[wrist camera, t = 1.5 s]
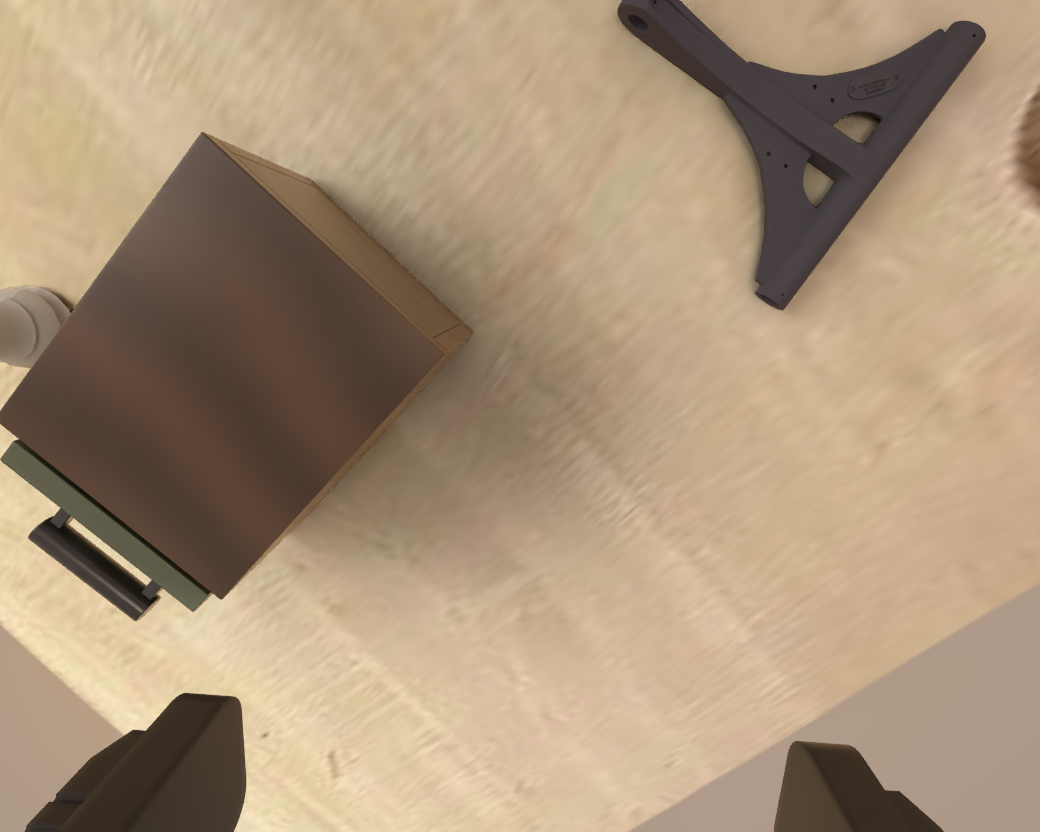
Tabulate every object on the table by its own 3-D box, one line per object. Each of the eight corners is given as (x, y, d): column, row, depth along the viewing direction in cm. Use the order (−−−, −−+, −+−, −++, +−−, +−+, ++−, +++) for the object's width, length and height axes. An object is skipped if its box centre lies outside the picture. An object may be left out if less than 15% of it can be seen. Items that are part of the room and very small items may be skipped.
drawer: (222, 593, 35) (131, 680, 27) (78, 478, 33) (-59, 536, 26) (422, 371, 31) (383, 400, 24) (271, 233, 30) (178, 217, 22)
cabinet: (309, 513, 34) (221, 600, 25) (150, 379, 33) (-7, 419, 23) (474, 332, 31) (444, 354, 22) (308, 177, 30) (201, 130, 21)
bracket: (714, -145, 26) (734, -194, 23) (968, 50, 27) (1015, 25, 25) (539, 146, 29) (538, 133, 27) (774, 309, 31) (796, 312, 28)
